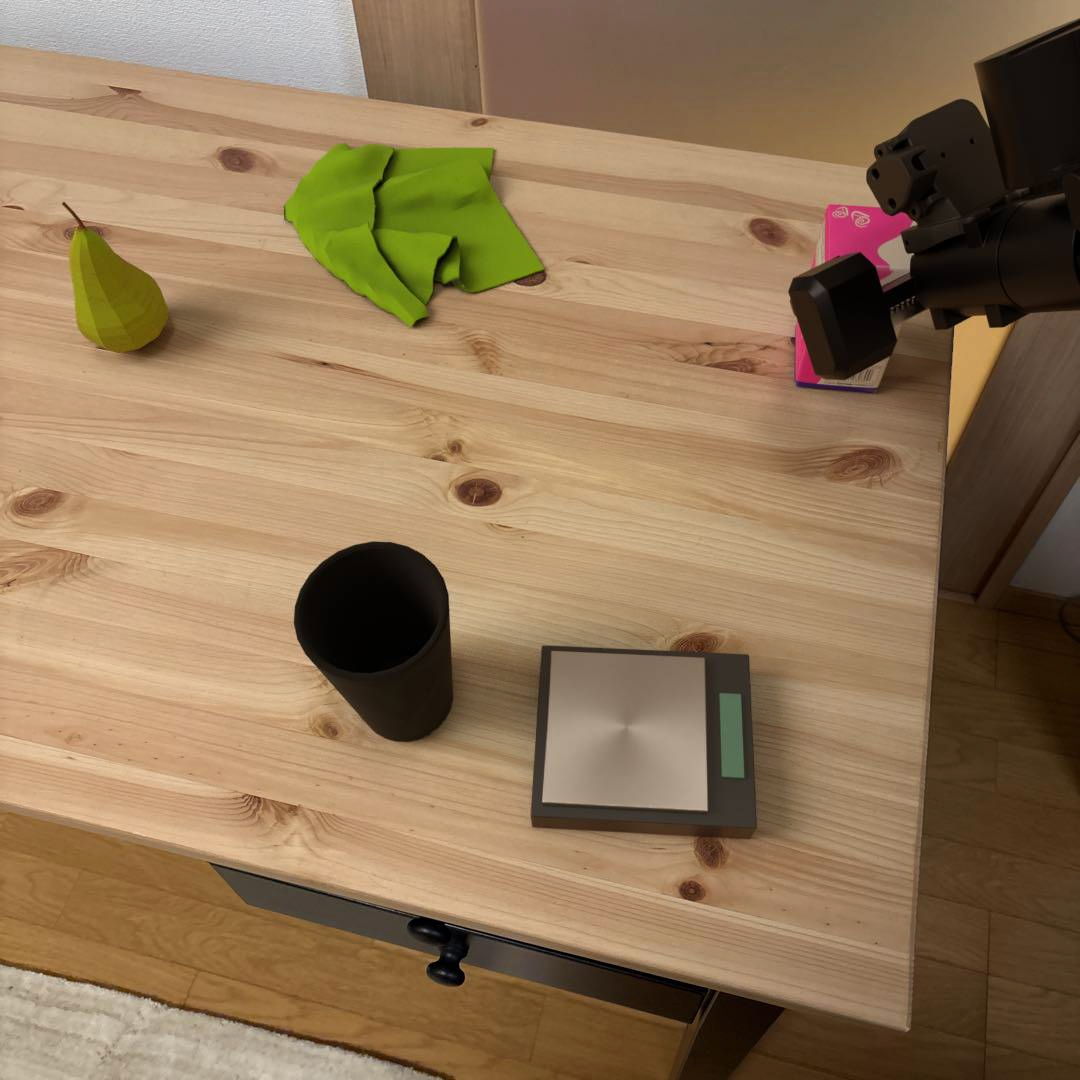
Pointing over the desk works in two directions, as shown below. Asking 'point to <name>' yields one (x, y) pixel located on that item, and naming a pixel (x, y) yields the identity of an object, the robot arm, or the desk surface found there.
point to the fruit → (112, 295)
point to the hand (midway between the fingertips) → (849, 278)
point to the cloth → (408, 224)
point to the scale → (644, 742)
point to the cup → (381, 636)
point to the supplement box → (878, 244)
